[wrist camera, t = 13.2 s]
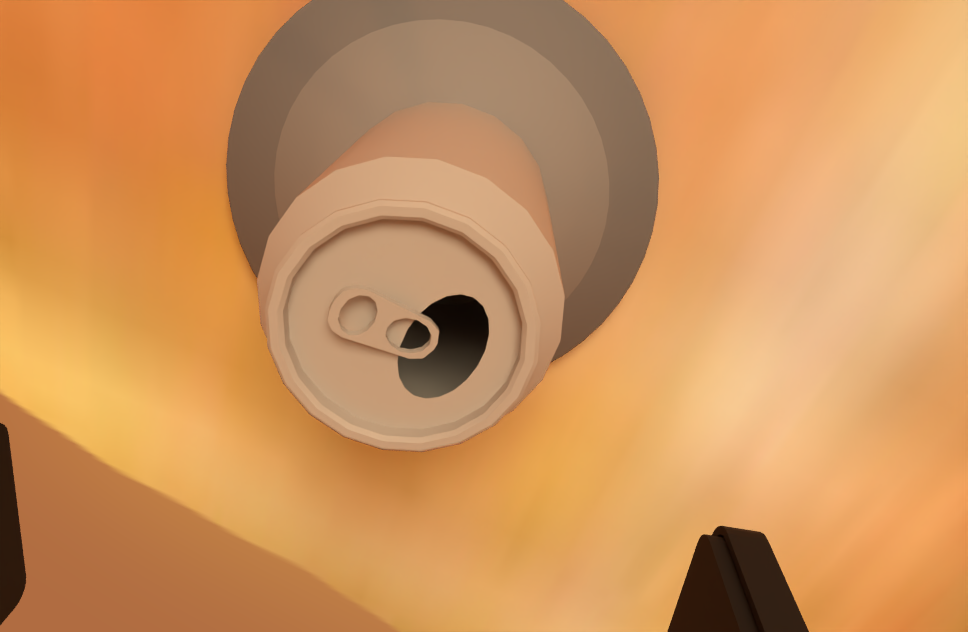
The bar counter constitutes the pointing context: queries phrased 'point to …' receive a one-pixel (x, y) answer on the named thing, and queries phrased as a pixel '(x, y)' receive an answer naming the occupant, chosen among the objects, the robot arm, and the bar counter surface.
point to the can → (416, 282)
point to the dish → (470, 81)
